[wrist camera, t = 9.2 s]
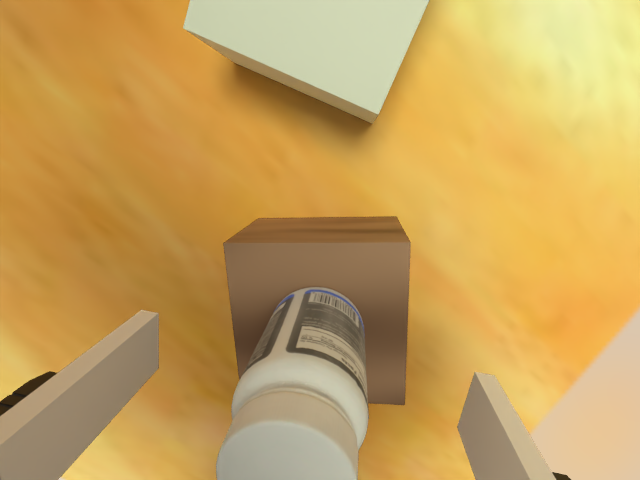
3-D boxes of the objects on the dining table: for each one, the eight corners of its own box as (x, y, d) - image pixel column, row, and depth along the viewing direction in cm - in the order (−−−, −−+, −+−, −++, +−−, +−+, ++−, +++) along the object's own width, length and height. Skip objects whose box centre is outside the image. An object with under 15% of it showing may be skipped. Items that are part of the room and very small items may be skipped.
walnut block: (258, 218, 22) (223, 243, 17) (396, 216, 21) (410, 242, 16) (268, 338, 25) (241, 396, 19) (393, 342, 24) (404, 405, 18)
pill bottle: (294, 376, 18) (243, 559, 10) (258, 301, 17) (170, 436, 9) (378, 352, 17) (396, 532, 9) (345, 271, 16) (331, 392, 8)
